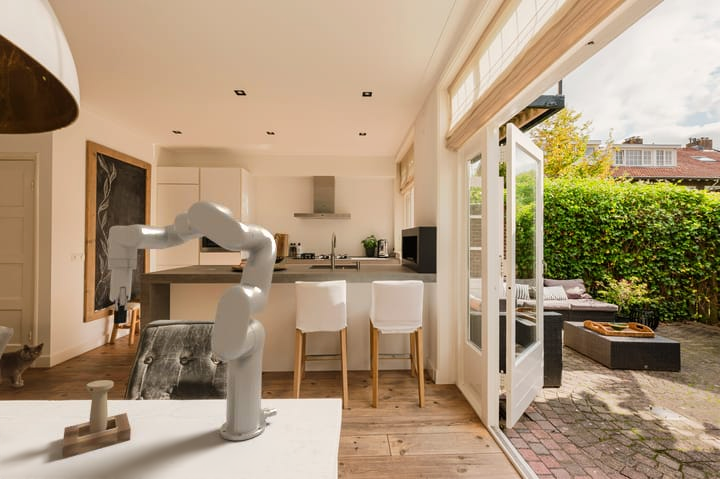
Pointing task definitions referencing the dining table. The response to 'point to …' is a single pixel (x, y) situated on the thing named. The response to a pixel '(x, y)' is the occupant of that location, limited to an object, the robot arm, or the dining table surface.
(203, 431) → the dining table surface
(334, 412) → the dining table surface
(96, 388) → the handle
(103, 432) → the wooden frame
